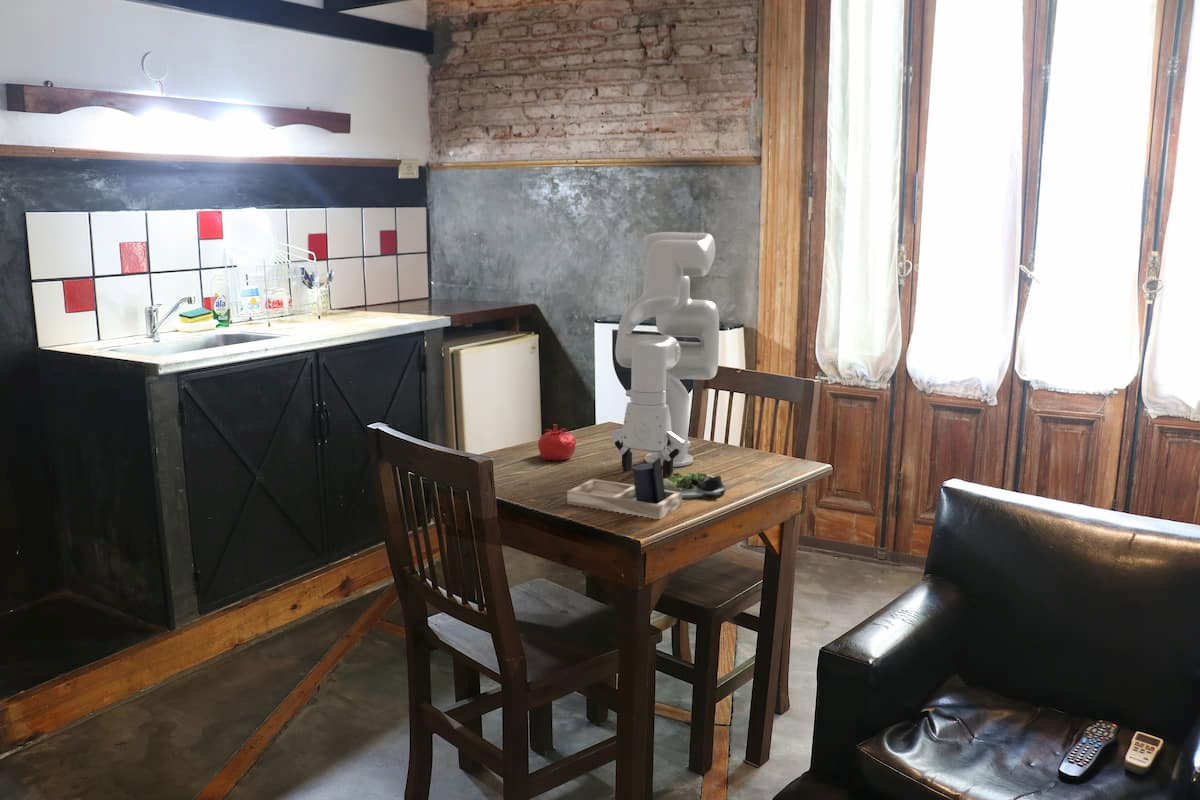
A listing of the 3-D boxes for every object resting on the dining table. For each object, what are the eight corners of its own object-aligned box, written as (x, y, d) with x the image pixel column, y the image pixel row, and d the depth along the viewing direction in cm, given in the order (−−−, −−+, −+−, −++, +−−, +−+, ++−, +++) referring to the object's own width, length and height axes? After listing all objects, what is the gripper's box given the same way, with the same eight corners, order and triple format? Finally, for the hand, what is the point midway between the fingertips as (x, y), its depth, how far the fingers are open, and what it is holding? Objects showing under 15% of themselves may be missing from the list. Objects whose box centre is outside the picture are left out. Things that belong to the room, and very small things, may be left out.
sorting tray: (592, 490, 232) (592, 478, 232) (681, 505, 222) (681, 492, 221) (567, 504, 222) (567, 491, 221) (659, 519, 212) (659, 506, 211)
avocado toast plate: (647, 503, 225) (648, 483, 224) (637, 481, 242) (637, 463, 241) (731, 501, 227) (732, 482, 226) (715, 480, 244) (715, 462, 243)
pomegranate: (571, 464, 256) (572, 429, 254) (534, 462, 258) (534, 427, 256) (578, 454, 266) (579, 421, 264) (542, 452, 267) (542, 418, 265)
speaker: (674, 502, 219) (670, 457, 218) (659, 510, 215) (655, 463, 213) (646, 499, 224) (642, 455, 222) (631, 506, 220) (627, 461, 218)
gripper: (605, 396, 215) (604, 472, 219) (678, 405, 208) (676, 483, 211) (620, 390, 222) (619, 464, 226) (692, 398, 214) (690, 475, 218)
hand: (647, 473), depth 218 cm, fingers open, 9 cm apart
